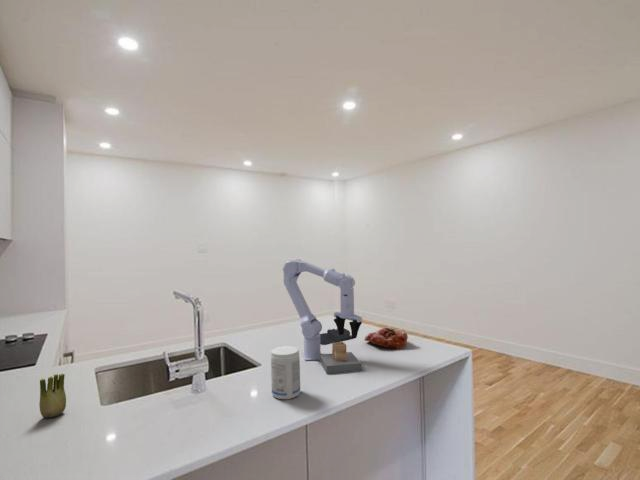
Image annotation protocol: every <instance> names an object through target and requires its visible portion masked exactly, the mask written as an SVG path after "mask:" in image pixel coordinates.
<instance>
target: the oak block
mask: <svg viewBox="0 0 640 480" xmlns="http://www.w3.org/2000/svg"><path fill="white" fill-rule="evenodd" d="M331 346H332V347H331V348H332V350H331V351H332V353H331V354H332V358H333V359H334V360H335V361H341V360H347V355H346V352H347V344H346V343H345V342H344V341H342V342H336V343H332V345H331Z"/></svg>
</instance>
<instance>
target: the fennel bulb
mask: <svg viewBox="0 0 640 480" xmlns="http://www.w3.org/2000/svg"><path fill="white" fill-rule="evenodd" d="M65 376H66V375H65V373H54V374H53V376H49V377H48V378H47V380H46V378H41V379H40V380H39V385H40V386H39V389H40V390H39V391H40V392H39V412H40V414H41V416H42V418H44V419H46V418H50V419H52V418H56V417H58V416H60V415H62V414H63V413H64V412H65V410H66V408H67V396H66V392H65V391H66V390H65ZM46 381H47V383H46Z"/></svg>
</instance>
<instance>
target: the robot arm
mask: <svg viewBox="0 0 640 480" xmlns="http://www.w3.org/2000/svg"><path fill="white" fill-rule="evenodd" d="M282 271H283V285H284V287H285V289H286V291H287V293H288V295H289V297H290V299H291V301H292V304H293V305H294V308H295V310H296V311H297V314H298V316H299V319H300V323H299V324H300V326H301V334H302V336H303V352H302V353H301V355H302V357H303V359H304V361H306V362H307V361H318V360H319V361H320V356H319V354H322V353H321V349H322V348H321V344H320V334H321V331H322V330H323V326H322V325H323V324H322V323H321V321H320V320H319V319H317V317H316V316H315V315H314V314H313V313H312V311H311V310H310V307H309V305H308V303H307V301H306V299H305V297H304V295H303V293H302V291H301V289H300V287H299V285H298V282H297V281H298V278H299V277H300V275H301V274H302V273H304V272H308V273H310V274H312V275H316V276H318V277H321V278H323V280H324V282H326V283H328V284H331V285H333V286H336V287H339V288H340V312H339V311H335V312H334V313H333V317H334V319H333V322H334V323H335V325H336V329H337V328H338V332H339V335H343V334H344V328H345V325H346V324H345V322H346V320H347V321H349V326H350V334H351V337H352V339H351V340H354V339H357V336H358V334H359V330H360V328H361V325H362V323H363V319H362V318H363V317H362V316H359V315H357V314H355V293H354V286H355V285H356V281H355V279H354V277H353V276H351V275H350V274H348V275H346V273H344V272H343V273H340V272H338V271H336V269H335V268H329V269H324V268H322V267H319V266H316V265H315V264H313V263H310V262H308V261H305V260H302V259H292V260H291V259H290V260H288V261H285V263H284V264H283V267H282Z"/></svg>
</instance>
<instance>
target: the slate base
mask: <svg viewBox="0 0 640 480" xmlns="http://www.w3.org/2000/svg"><path fill="white" fill-rule="evenodd" d="M346 355H347V360H341V361H335V360H334V359H333V358H332V353H321V354H319V356H320V359H319V363H320V365H321V367H322V368H323V371H324V372H325V374H327V375H328V374H339V373H341V374H342V373H351V372H359V371H360V372H361V371H362V362H361V361H360V360H359V359H358V358H357V356H355V355H354V353H353V352H352V351H346Z"/></svg>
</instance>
